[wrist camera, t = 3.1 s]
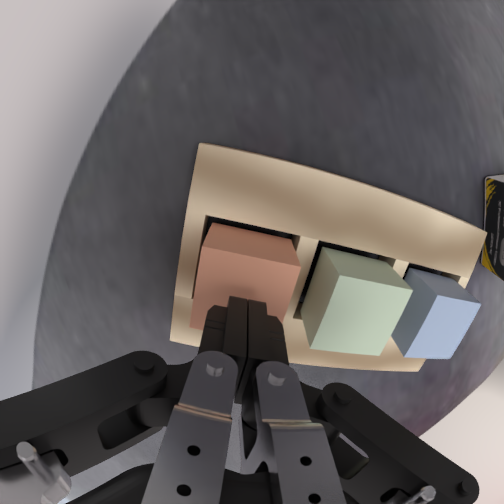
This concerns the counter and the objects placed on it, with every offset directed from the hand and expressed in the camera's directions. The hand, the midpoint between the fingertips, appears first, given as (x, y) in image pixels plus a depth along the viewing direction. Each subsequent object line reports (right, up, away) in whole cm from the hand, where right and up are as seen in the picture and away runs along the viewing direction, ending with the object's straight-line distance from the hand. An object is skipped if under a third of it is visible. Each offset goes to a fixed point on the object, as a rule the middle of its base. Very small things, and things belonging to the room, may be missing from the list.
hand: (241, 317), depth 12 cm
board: (+6, +1, +6) cm, 9 cm away
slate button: (+12, -1, +5) cm, 13 cm away
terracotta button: (0, +2, +4) cm, 5 cm away
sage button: (+6, +1, +5) cm, 7 cm away
